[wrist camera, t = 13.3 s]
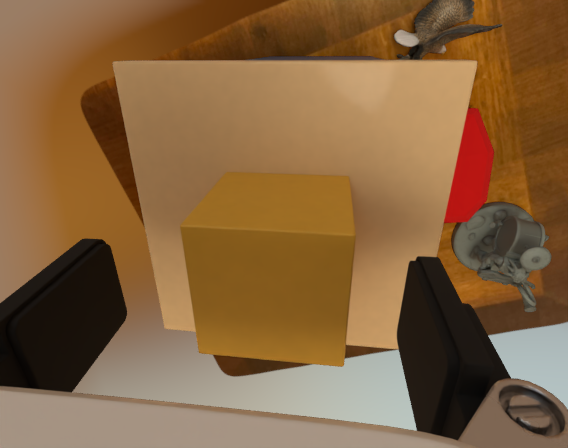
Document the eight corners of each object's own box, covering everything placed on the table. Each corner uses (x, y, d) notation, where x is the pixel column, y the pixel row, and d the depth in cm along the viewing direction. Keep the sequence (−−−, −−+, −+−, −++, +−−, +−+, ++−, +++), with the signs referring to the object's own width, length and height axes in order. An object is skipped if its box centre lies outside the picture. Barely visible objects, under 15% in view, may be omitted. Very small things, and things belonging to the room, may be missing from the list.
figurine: (440, 259, 53) (466, 313, 42) (470, 193, 48) (508, 234, 37) (511, 275, 53) (556, 333, 42) (549, 210, 48) (610, 257, 37)
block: (234, 273, 17) (198, 354, 12) (225, 171, 15) (179, 225, 10) (341, 280, 16) (343, 367, 12) (349, 175, 14) (356, 234, 10)
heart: (544, 145, 38) (459, 237, 41) (524, 149, 43) (450, 230, 46) (425, 64, 40) (353, 158, 43) (420, 77, 45) (356, 160, 48)
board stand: (268, 156, 49) (164, 329, 19) (266, 52, 44) (110, 61, 13) (364, 159, 48) (417, 351, 18) (375, 51, 42) (479, 60, 12)
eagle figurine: (433, 97, 42) (508, 36, 37) (414, 85, 37) (500, 10, 32) (397, 51, 44) (465, -14, 39) (374, 32, 39) (450, -47, 34)
